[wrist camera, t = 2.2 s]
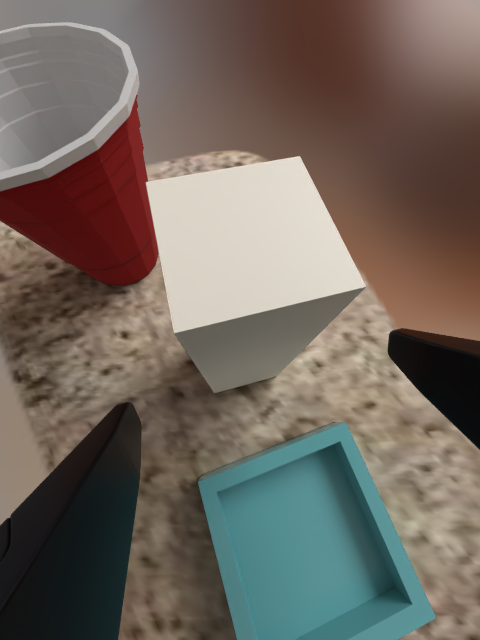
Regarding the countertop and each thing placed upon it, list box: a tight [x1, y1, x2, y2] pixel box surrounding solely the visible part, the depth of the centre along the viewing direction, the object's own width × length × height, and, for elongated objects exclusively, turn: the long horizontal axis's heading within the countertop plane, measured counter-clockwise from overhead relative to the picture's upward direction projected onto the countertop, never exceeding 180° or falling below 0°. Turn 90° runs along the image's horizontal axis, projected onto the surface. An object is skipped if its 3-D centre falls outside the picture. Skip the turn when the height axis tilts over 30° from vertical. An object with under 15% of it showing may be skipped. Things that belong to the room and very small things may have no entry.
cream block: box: [146, 156, 366, 393], centre depth 12 cm, size 4×4×13 cm
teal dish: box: [198, 422, 436, 640], centre depth 14 cm, size 9×9×2 cm
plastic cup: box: [0, 22, 158, 286], centre depth 16 cm, size 11×11×12 cm
